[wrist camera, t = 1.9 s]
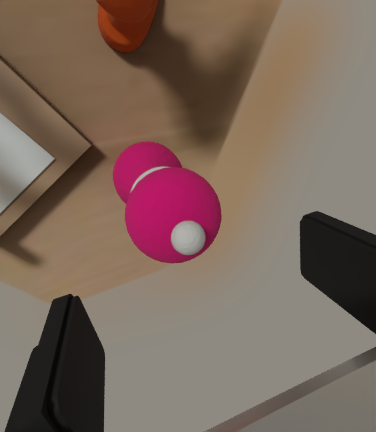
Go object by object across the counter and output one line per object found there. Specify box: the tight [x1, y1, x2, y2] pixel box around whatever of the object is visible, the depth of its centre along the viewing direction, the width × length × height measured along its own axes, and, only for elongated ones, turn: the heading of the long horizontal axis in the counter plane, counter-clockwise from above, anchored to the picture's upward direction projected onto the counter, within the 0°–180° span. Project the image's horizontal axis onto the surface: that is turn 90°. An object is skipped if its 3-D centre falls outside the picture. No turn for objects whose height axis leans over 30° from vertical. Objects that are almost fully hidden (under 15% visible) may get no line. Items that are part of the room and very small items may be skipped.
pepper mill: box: [113, 142, 221, 263], centre depth 21 cm, size 7×7×20 cm
